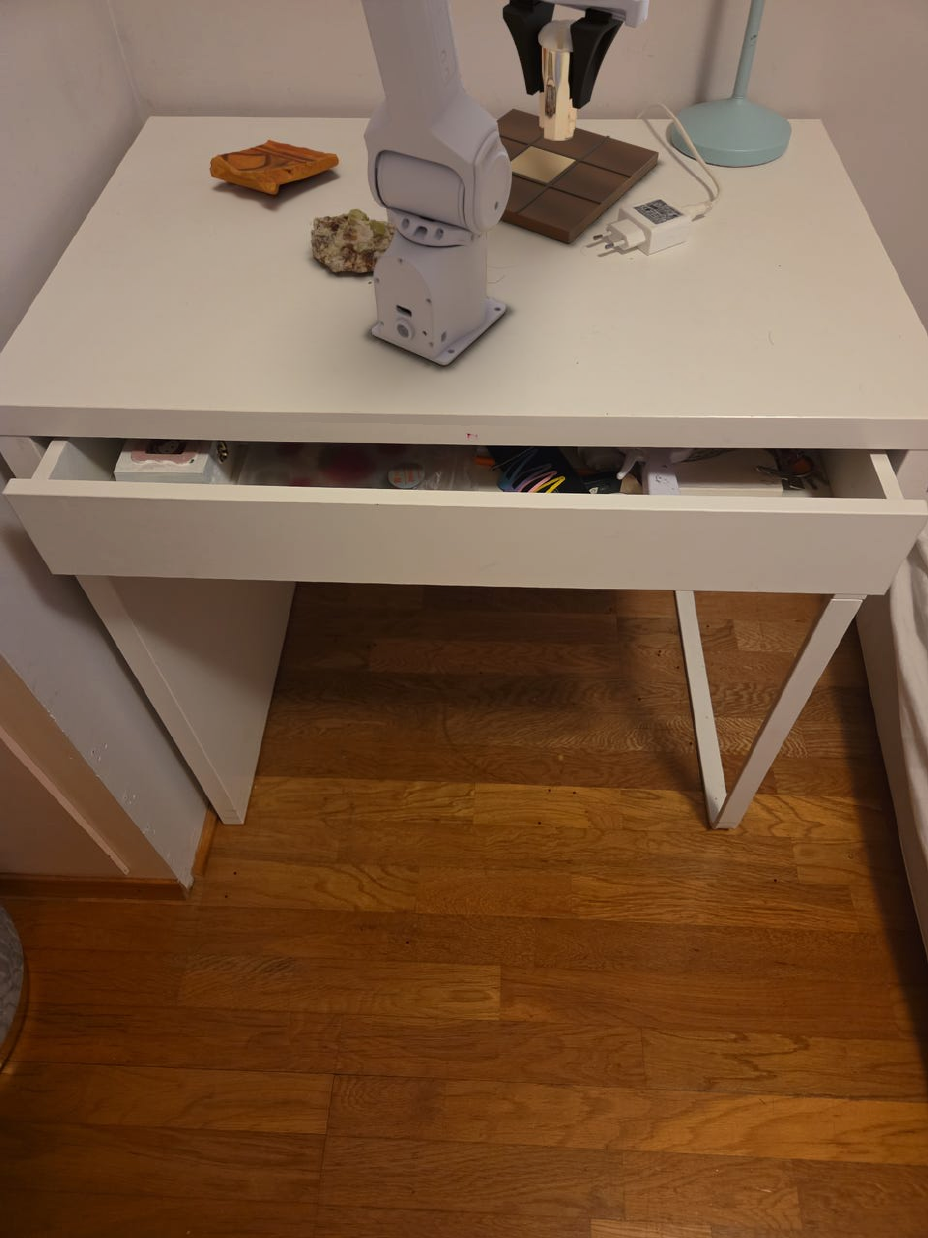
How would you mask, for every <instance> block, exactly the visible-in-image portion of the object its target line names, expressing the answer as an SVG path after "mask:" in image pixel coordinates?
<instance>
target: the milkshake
mask: <svg viewBox="0 0 928 1238" xmlns="http://www.w3.org/2000/svg"><path fill="white" fill-rule="evenodd" d="M576 21H577V20H576V19H560V20H559V19H552V21H551V22H550V23H548V24H547V25H545V26H544V27H543V28H542V30H541V31H540V33H539V35H538V48H539V91H538V96H539V97H538V99H539V102H538V103H539V104H538V106H539V109H538V110H539V113H538V116H539V130H540V135H541V136H542V137H543V138H544V139H547V140H550V141H553V142H556V141H566V140H568V139H570V138H572V137H573V134H574V131H575V127H577V126H576V125H577V120H578V119H577V118H578V114H579V109H576V108H572V88H573V76H574V57H573V45H572V38H571V33H570V25H571V24H573V23H574V22H576Z"/></svg>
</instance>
